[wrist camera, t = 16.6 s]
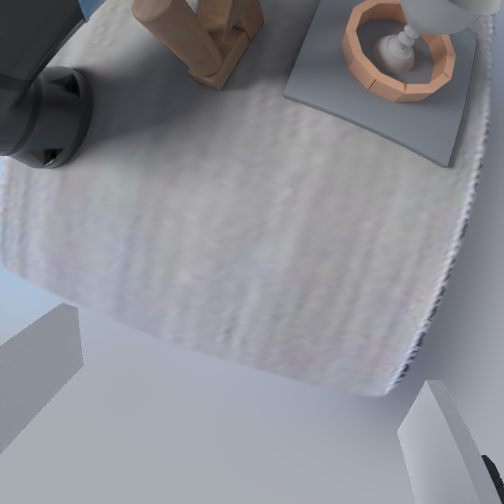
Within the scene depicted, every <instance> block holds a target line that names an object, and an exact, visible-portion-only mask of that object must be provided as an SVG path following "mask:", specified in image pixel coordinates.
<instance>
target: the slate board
mask: <svg viewBox="0 0 504 504" xmlns="http://www.w3.org/2000/svg"><path fill="white" fill-rule="evenodd" d="M364 1H366V0H321V1H320V3H319V6H318V8H317V10H316V13H315V15H314V18H313V20H312V23H311V25H310V27H309V30H308V32H307V35H306V37H305V40H304V42H303V45H302V47H301V50H300V52H299V55H298V57H297V60H296V62H295V65H294V67H293V70H292V72H291V75H290V77H289V80H288V82H287V85H286V87H285V90H284V93H283V97H284V98H287V99H290V100H293V101H296V102H299V103H301V104H304V105H307V106H310V107H312V108H315V109H318V110H320V111H323V112H326V113H328V114H331V115H333V116H336V117H338V118H341V119H343V120H346V121H348V122H350V123H353V124H355V125H357V126H360V127H362V128H364V129H367V130H369V131H371V132H373V133H376V134H378V135H380V136H382V137H384V138H386V139H388V140H391V141H393V142H395V143H397V144H399V145H401V146H403V147H405V148H407V149H409V150H411V151H413V152H415V153H417V154H419V155H421V156H422V157H424V158H426V159H428V160H430V161H432V162H434V163H436V164H437V165H439V166H441V167H447V166H448V163H449V160H450V157H451V153H452V150H453V147H454V143H455V140H456V136H457V133H458V129H459V125H460V121H461V117H462V113H463V109H464V105H465V101H466V97H467V92H468V87H469V83H470V78H471V72H472V67H473V61H474V56H475V49H476V43H477V36H478V34H476V33H474V32H473V31H471V30H470V29H468V28H466V29H464V30H462V31H461V32H459V33H453V34H448V35H449V37H450V40H451V43H452V46H453V49H454V52H455V55H456V59H455V63H454V68H453V73H452V77H451V80H449V81H448V82H447V83H445V84H444V85H443V86H441V87H440V88H439V89H437V90H436V91H435V92H434V93H432V94H431V95H429V96H427V97H426V98H424V99H423V100H421V101H419V102H392V101H390V100H388V99H386V98H383V97H381V96H379V95H377V94H375V93H372V92H370V91H368V90H369V89H368V90H367V89H366V88H365V87H364V86H363V85H362V83H361V82H360V81H359V80H358V79H357V78H356V77H355V76H354V75H353V74H352V72H351V71H350V70H349V68H348V67H347V63H346V59H345V55H344V52H343V48H342V40H343V37H344V34H345V30H346V27H347V24H348V22H349V19H350V16H351V13H352V11H353V8H354V7H356V6H357V5H359V4H361V3H363V2H364ZM405 26H406V25H405V24H403V23H401V22H399V21H397V20H394V19H371V20H369V21H368V22H366V23H364V24H363V25H361V26H359V27H358V28H357V29H356V33H357V36H358V40H359V43H360V46H361V50H362V53H363V54H364V55H365V56H366V57H367V58H368V59H369V60H370V62H371V63H372V64H373V65H374V66H375V67H376V68H377V69H378V70H379V71H380V73H382V74H385V75H387V76H389V77H391V78H393V79H395V80H397V81H399V82H402V83H404V84H429V83H430V81H431V77H432V74H433V70H434V66H435V64H434V61H433V57H432V54H431V51H430V48H429V45H428V44H427V43H426V42H425V40H424V39H423V38H422V37H421V36H419V37H418V38H414V40H415V43H414V44H413V45H412V48H413V51H414V59H415V60H414V65H413V67H412V69H411V70H410V71H408V72H407V73H403V74H396V73H392V72H389V71H387V70H386V69H384V68H383V67H381V66H380V64H379V63H378V62H377V61H376V59H375V57H374V53H373V46H374V43H375V42H376V40H377V39H379V38H381V37H383V36H389V35H398V34H399V33H400V32H402V31H404V27H405Z"/></svg>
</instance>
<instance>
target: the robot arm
mask: <svg viewBox="0 0 504 504" xmlns="http://www.w3.org/2000/svg"><path fill="white" fill-rule="evenodd" d="M105 1H106V0H0V156H10V157H12V158H14V159H16V160H18V161H20V162H22V163H24V164H26V165H28V166H30V167H33V168H54V167H57V166H59V165H61V164H63V163H64V162H66V161H67V160H68V159H69V158H70V157H71V156H72V155H73V154H74V153H75V152H76V150H77V149H78V148H79V146H80V144H81V143H82V141H83V139H84V137H85V135H86V132H87V130H88V127H89V123H90V119H91V114H92V94H91V89H90V86H89V84H88V82H87V80H86V79H85V77H84V76H83V75H82V74H80V73H79V72H77V71H75V70H72V69H70V68H67V67H62V66H55V67H46V65H47V64H48V63H49V62H50V61H51V59H52V58H53V57H54V56H55V55H56V54H57V52H58V51H59V50H60V49H61V48H62V47H63V46H64V44H65V43H66V42H67V41H68V40H69V39H70V38H71V37H72V36H73V35H74V34H75V32H76V31H77V30H78V29H79V28H80V27H81V26H82V25H83V24H84V23H87V22H88V21H89V19H90V16H91V15H92V14H93V13H94V12H95V11H96V10H97V9H98V8H99V7H100V6H101V5H102V4H103V3H104V2H105ZM45 67H46V68H45ZM79 331H80V330H79V320H78V308H76V307H73V306H71V305H68V304H65V303H62V304H60V305H59V306H57V307H56V308H54V309H53V310H51V311H50V312H48V313H47V314H45V315H44V316H42V317H41V318H40V319H38V320H37V321H35V322H34V323H32V324H31V325H29V326H28V327H27V328H25V329H24V330H22V331H21V332H19V333H18V334H17V335H15V336H14V337H12V338H11V339H10V340H8V341H7V342H6V343H4V344H3V345H1V346H0V454H1V453H2V452H3V451H4V449H6V447H7V446H8V445H9V444H10V443H11V442H12V441H13V440H14V439H15V437H16V436H17V435H18V434H19V433H20V432H21V431H22V430H23V429H24V428H25V427H26V425H27V424H28V423H29V422H30V421H31V420H32V419H33V418H34V417H35V416H36V415H37V414H38V412H39V411H40V410H41V409H42V408H43V407H44V406H45V405H46V404H47V403H48V402H49V401H50V400H51V399H52V398H53V396H54V395H55V394H56V393H57V392H58V391H59V390H60V389H61V388H62V387H63V386H64V385H65V384H66V383H67V382H68V381H69V380H70V379H71V378H72V377H73V376H74V375H75V374H76V373H77V371H78V370H79V369H80V368H81V367H82V366H83V365H84V364H83V356H82V348H81V340H80V332H79ZM397 434H398V437H399V441H400V444H401V448H402V451H403V455H404V458H405V462H406V466H407V470H408V473H409V477H410V481H411V485H412V489H413V493H414V497H415V501H416V504H504V487H503V486H504V484H503V481H502V479H501V478H500V475H499V472H498V471H497V468H496V466H495V464H494V463H493V462H492V461H491V460H490V459H489V458H488V457H487V456H486V455H482V456H481V455H480V453H479V451H478V448H477V446H476V444H475V442H474V440H473V438H472V436H471V434H470V432H469V430H468V428H467V426H466V424H465V422H464V421H463V418H462V416H461V415H460V413H459V411H458V409H457V407H456V405H455V403H454V401H453V400H452V398H451V396H450V394H449V392H448V390H447V389H446V387H445V385H444V383H443V382H442V381H434V380H426V381H425V383H424V385H423V387H422V389H421V390H420V393H419V394H418V396H417V398H416V400H415V402H414V403H413V405H412V407H411V409H410V411H409V412H408V414H407V416H406V418H405V419H404V421H403V423H402V424H401V426H400V428H399V429H398V431H397Z"/></svg>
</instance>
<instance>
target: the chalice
mask: <svg viewBox="0 0 504 504" xmlns="http://www.w3.org/2000/svg"><path fill="white" fill-rule="evenodd" d="M400 3H401V7H402V10H403V13H404V16H405V19H406V21H407V23H408V25H406V26H405V27H404V31H402V32H400V33H399V34H398V35H389V36H383V37H381V38H379V39H377V40H376V42H375V43H374V46H373V53H374V57H375V59H376V61H377V62H378V63H379V64H380V66H381V67H383V68H384V69H386V70H387V71H389V72H392V73H396V74H403V73H407V72H408V71H410V70H411V69H412V67H413V65H414V60H415V59H414V51H413V48H412V45H413V44H414V43H415V40H414V38H418V37H419V36H420V33H421V34H428V35H446V34H453V33H459V32H461V31H462V30H464V29H466V28H467V27H468V26H469V25H470V24H471V23H473V22H474V21H475V20H476V19H477V18H479V17H480V16H481V15H492V14H494V13H496V12H498V11H499V8H500V6H501V0H400Z"/></svg>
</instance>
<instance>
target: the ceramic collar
mask: <svg viewBox="0 0 504 504" xmlns="http://www.w3.org/2000/svg"><path fill="white" fill-rule="evenodd" d="M371 19H394V20H397V21H399V22H401V23H403V24H405V25H408V23H407V21H406V19H405V16H404V13H403V10H402V7H401V3H400V0H366V1H364V2H363V3H361V4H359V5H357V6H356V7H354V8H353V11H352V13H351V16H350V19H349V22H348V24H347V27H346V30H345V34H344V37H343V40H342V48H343V52H344V55H345V59H346V63H347V67H348V68H349V70H350V71H351V72H352V74H353V75H354V76H355V77H356V78H357V79H358V80H359V81H360V82H361V83H362V85H363V86H364V87H365V88H366V89H367V90H368V89H369V90H368V91H370V92H372V93H375V94H377V95H379V96H381V97H383V98H386V99H388V100H390V101H392V102H419V101H421V100H423V99H424V98H426V97H427V96H429V95H431V94H432V93H434V92H435V91H436V90H437V89H439V88H440V87H441V86H443V85H444V84H445V83H447V82H448V81H449V80H451V77H452V73H453V68H454V63H455V59H456V55H455V52H454V49H453V46H452V43H451V40H450V37H449V35H448V34H446V35H428V34H421V33H420V36H421V37H422V38H423V39H424V40H425V42H426V43H427V44H428V45H429V48H430V51H431V54H432V57H433V61H434V64H435V66H434V70H433V74H432V77H431V81H430V83H429V84H404V83H402V82H399V81H397V80H395V79H393V78H391V77H389V76H387V75H385V74H382V73H380V71H379V70H378V69H377V68H376V67H375V66H374V65H373V64H372V63H371V62H370V60H369V59H368V58H367V57H366V56H365V55H364V54H363V53H362V50H361V46H360V43H359V40H358V36H357V33H356V29H357V28H358V27H359V26H361V25H363V24H364V23H366V22H368V21H369V20H371Z"/></svg>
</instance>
